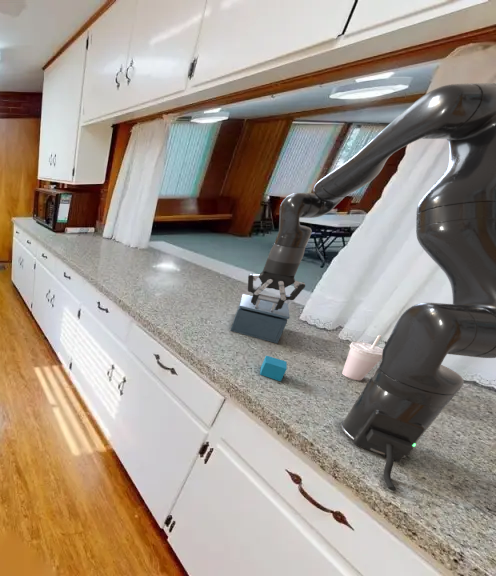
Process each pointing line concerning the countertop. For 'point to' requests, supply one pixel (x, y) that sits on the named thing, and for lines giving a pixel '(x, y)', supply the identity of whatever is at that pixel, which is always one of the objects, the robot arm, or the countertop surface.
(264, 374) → the block
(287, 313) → the lid
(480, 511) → the countertop surface
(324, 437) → the countertop surface
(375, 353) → the smoothie
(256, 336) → the compartment
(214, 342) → the countertop surface
